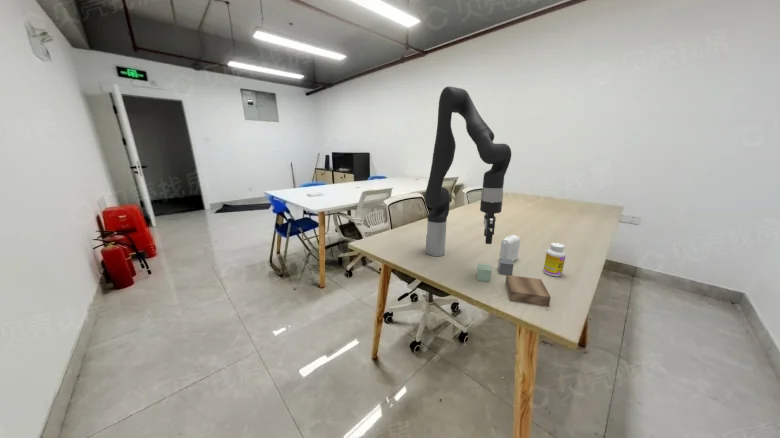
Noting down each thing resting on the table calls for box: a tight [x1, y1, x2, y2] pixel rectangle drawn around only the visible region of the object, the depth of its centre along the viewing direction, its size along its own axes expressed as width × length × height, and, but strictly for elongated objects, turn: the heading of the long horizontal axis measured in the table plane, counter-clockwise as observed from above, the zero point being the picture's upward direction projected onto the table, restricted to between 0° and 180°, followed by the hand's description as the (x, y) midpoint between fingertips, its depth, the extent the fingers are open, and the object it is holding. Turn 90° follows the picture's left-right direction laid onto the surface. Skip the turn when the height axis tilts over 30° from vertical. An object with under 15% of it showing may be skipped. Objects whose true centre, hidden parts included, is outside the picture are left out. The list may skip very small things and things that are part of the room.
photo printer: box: [499, 234, 521, 263], centre depth 115 cm, size 10×4×12 cm, turn 123°
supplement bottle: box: [542, 242, 567, 277], centre depth 103 cm, size 7×7×13 cm
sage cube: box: [476, 263, 493, 282], centre depth 101 cm, size 5×5×5 cm
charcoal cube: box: [497, 257, 514, 276], centre depth 106 cm, size 5×5×5 cm
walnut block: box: [505, 274, 551, 307], centre depth 90 cm, size 12×12×4 cm
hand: (487, 239), depth 97 cm, fingers open, 8 cm apart
